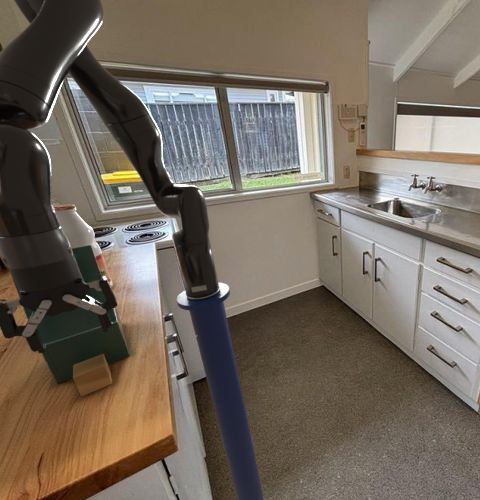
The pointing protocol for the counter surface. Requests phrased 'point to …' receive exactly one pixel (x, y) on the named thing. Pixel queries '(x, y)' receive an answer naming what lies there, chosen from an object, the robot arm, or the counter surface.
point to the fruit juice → (80, 234)
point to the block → (91, 374)
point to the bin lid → (80, 317)
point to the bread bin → (85, 349)
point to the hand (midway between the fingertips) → (76, 339)
